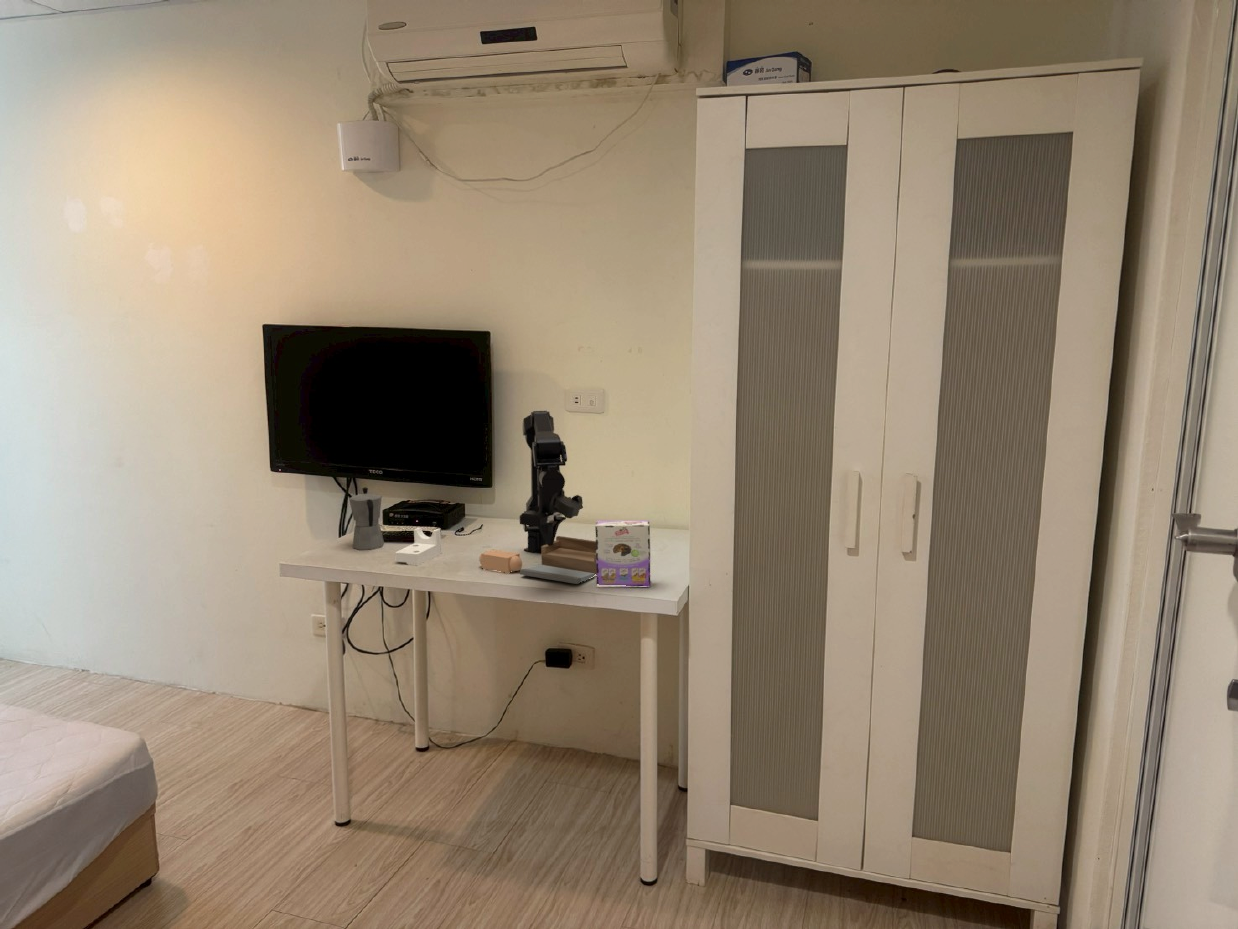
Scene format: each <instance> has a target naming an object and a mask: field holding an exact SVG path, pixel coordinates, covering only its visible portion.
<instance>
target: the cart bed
mask: <svg viewBox="0 0 1238 929" xmlns="http://www.w3.org/2000/svg"><path fill="white" fill-rule="evenodd" d="M540 554H541V565H546V566H552V567H558V568H564V569H571V570H577V571H583V572H589V573H595V574H596V540H590V539H582V538H577V537H576V538H575V537H569V536H568V537H567V536H563V535H562V536H561V535H556V536H555V540H554V543H553V545H552V546H548V545H547V544H546V545H544V546H541V553H540Z"/></svg>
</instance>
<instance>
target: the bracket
mask: <svg viewBox="0 0 1238 929" xmlns="http://www.w3.org/2000/svg"><path fill="white" fill-rule="evenodd" d="M441 536H442V535H441V529H440V528H437V529H434V530H432V534H431V536H428V535H426V534H424V532H423V529H422V527H417V528H415V529H413V537H414V539H413V540H414V541H413V543H412V544H410V545H407V546H406V547H404V548H401V549H399V550H397V551H396V552H394V556H395V562H396V563H406V565H407V564H409V565H408V566H415V565H419V566H421V565H422V564H421V563H423V562H424V563H426V562H428V561H431V559H434V558H435V557H438V556H439V555H441V554H442V540H441V539H442V538H441ZM437 555H438V556H437ZM427 560H428V561H427ZM425 561H426V562H425ZM424 563H423V564H424ZM410 564H411V565H410ZM420 564H421V565H420Z"/></svg>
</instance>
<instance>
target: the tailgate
mask: <svg viewBox="0 0 1238 929" xmlns="http://www.w3.org/2000/svg"><path fill="white" fill-rule="evenodd" d="M519 575H522V576H526V577H532V578H533V577H534V578H538V579H539V578H540V579H545V580H552V581H556V582H563V583H568V584H575V585H578V584H580V582H581V583H583V582H582V581H584V582H587V581H588V580H587V579H589V578H591V577H593V576H594V575H595V573H589V572H583V571H577V570H571V569H564V568H558V567H552V566H546V565H542V564H536V565H532V566H529V567H525V568H521V569H520V570H519ZM586 580H587V581H586Z"/></svg>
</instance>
